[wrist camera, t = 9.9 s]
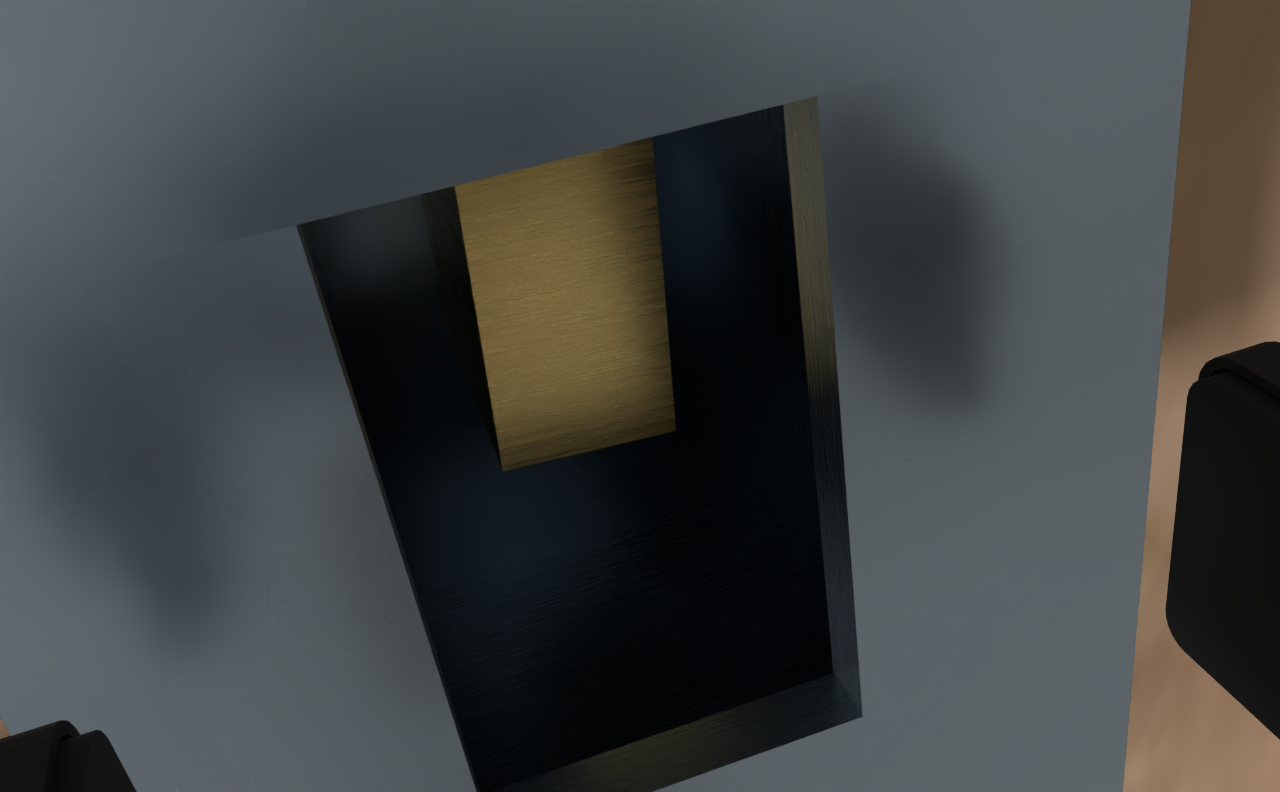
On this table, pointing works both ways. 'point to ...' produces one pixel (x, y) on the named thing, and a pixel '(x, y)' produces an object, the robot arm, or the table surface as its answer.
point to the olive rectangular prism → (558, 302)
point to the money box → (604, 478)
